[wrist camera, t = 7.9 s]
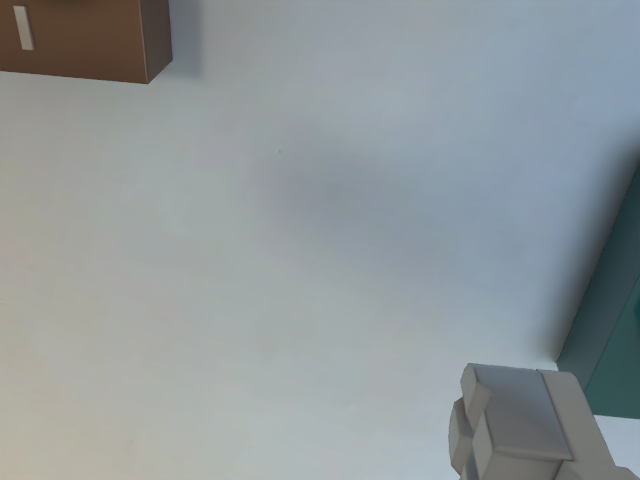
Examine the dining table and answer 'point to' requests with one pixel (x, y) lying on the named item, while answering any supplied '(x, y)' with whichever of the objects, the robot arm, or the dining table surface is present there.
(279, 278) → the dining table surface
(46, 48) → the dial panel
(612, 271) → the teal push button box
